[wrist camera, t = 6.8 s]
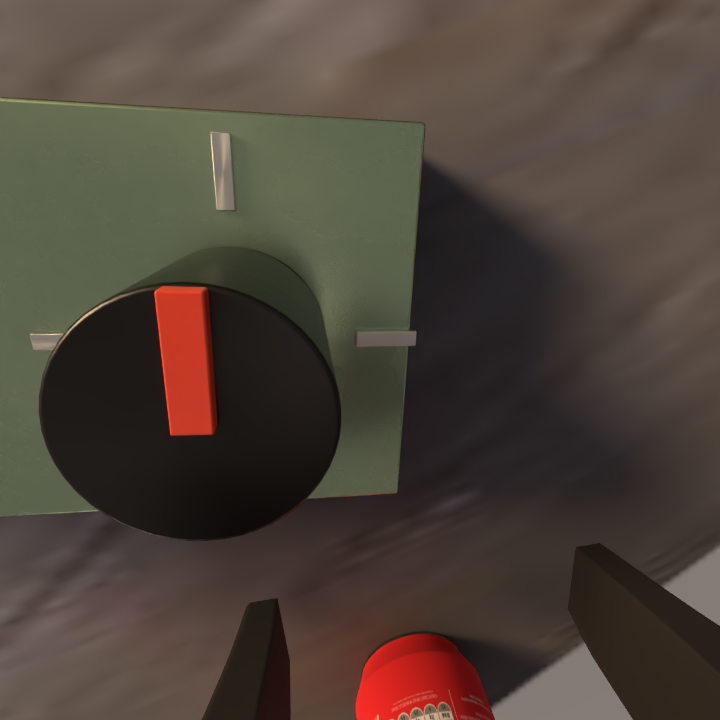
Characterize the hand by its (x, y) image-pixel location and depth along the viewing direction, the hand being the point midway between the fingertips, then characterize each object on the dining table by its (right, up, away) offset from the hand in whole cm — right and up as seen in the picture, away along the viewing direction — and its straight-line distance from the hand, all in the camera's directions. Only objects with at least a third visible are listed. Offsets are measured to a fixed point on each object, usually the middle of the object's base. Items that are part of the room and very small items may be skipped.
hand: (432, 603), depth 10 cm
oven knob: (-4, +6, -1) cm, 8 cm away
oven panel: (-6, +7, +2) cm, 10 cm away
